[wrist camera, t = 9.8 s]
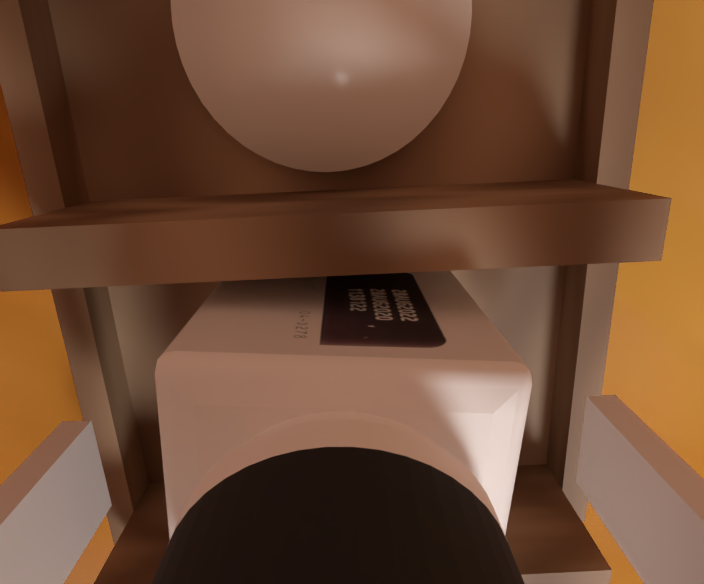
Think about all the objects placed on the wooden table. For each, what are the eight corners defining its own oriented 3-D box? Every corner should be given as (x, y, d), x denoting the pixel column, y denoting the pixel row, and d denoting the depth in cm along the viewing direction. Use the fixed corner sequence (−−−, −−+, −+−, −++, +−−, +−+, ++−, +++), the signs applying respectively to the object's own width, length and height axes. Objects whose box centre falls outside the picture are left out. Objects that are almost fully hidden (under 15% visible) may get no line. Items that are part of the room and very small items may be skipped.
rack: (140, 498, 21) (64, 634, 15) (-15, -213, 13) (-277, -468, 8) (557, 477, 21) (637, 605, 15) (633, -239, 14) (845, -507, 8)
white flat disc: (200, 174, 16) (192, 176, 15) (162, -144, 13) (147, -165, 12) (458, 165, 16) (465, 167, 15) (469, -151, 13) (479, -173, 12)
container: (232, 259, 17) (-77, 618, 4) (455, 268, 17) (758, 629, 5) (238, 450, 19) (49, 1031, 7) (433, 455, 19) (596, 1023, 7)
